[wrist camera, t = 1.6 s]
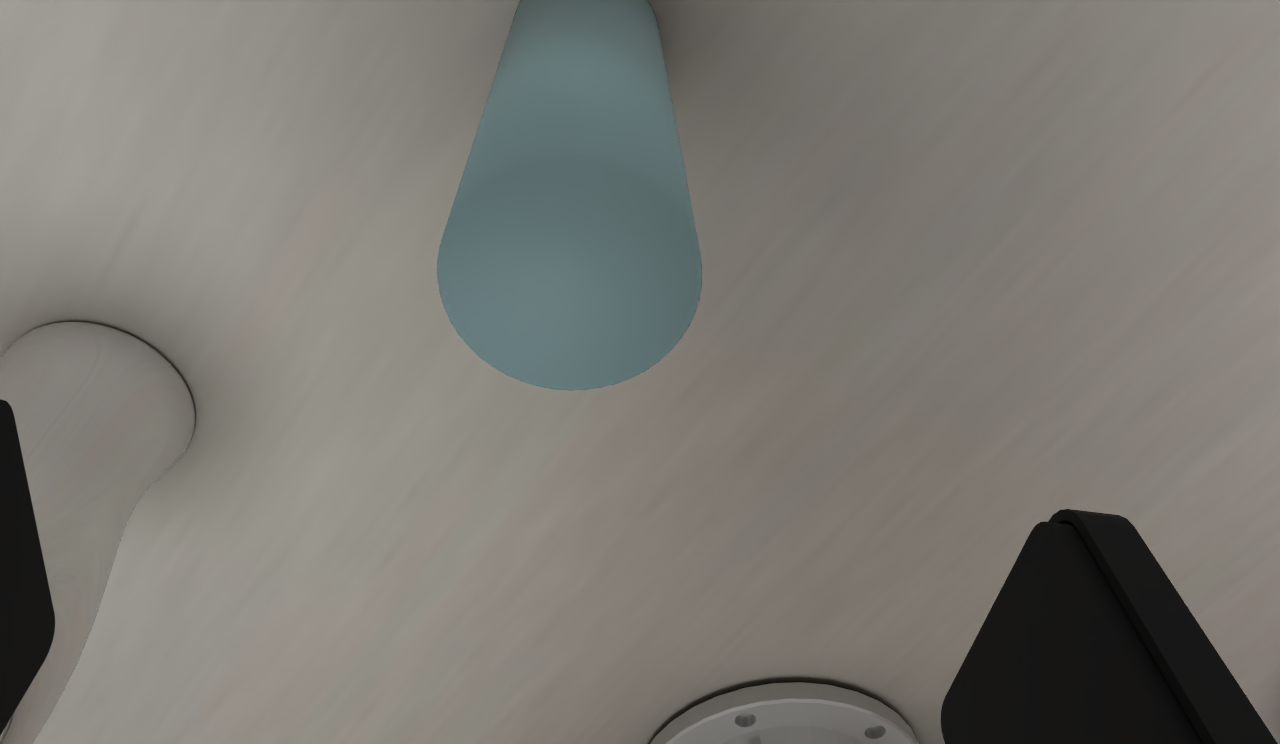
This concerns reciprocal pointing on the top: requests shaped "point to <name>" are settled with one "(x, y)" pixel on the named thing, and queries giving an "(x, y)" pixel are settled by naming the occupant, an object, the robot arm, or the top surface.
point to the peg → (574, 204)
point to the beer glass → (86, 471)
